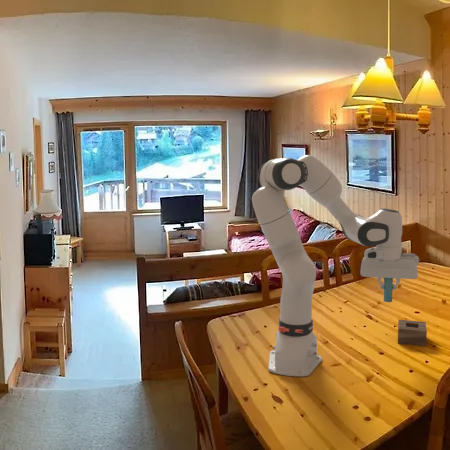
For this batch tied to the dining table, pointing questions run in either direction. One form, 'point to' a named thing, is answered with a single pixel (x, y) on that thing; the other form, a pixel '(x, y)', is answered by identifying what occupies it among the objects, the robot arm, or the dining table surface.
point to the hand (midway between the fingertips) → (388, 288)
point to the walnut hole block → (412, 332)
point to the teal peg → (388, 289)
